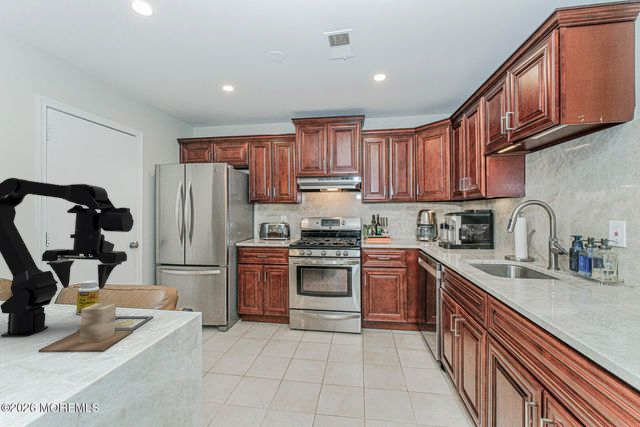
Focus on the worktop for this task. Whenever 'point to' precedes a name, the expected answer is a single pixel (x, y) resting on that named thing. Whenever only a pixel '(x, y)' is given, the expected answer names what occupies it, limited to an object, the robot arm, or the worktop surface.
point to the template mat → (147, 318)
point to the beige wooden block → (97, 323)
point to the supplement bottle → (87, 295)
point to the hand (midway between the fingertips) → (83, 288)
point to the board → (74, 345)
